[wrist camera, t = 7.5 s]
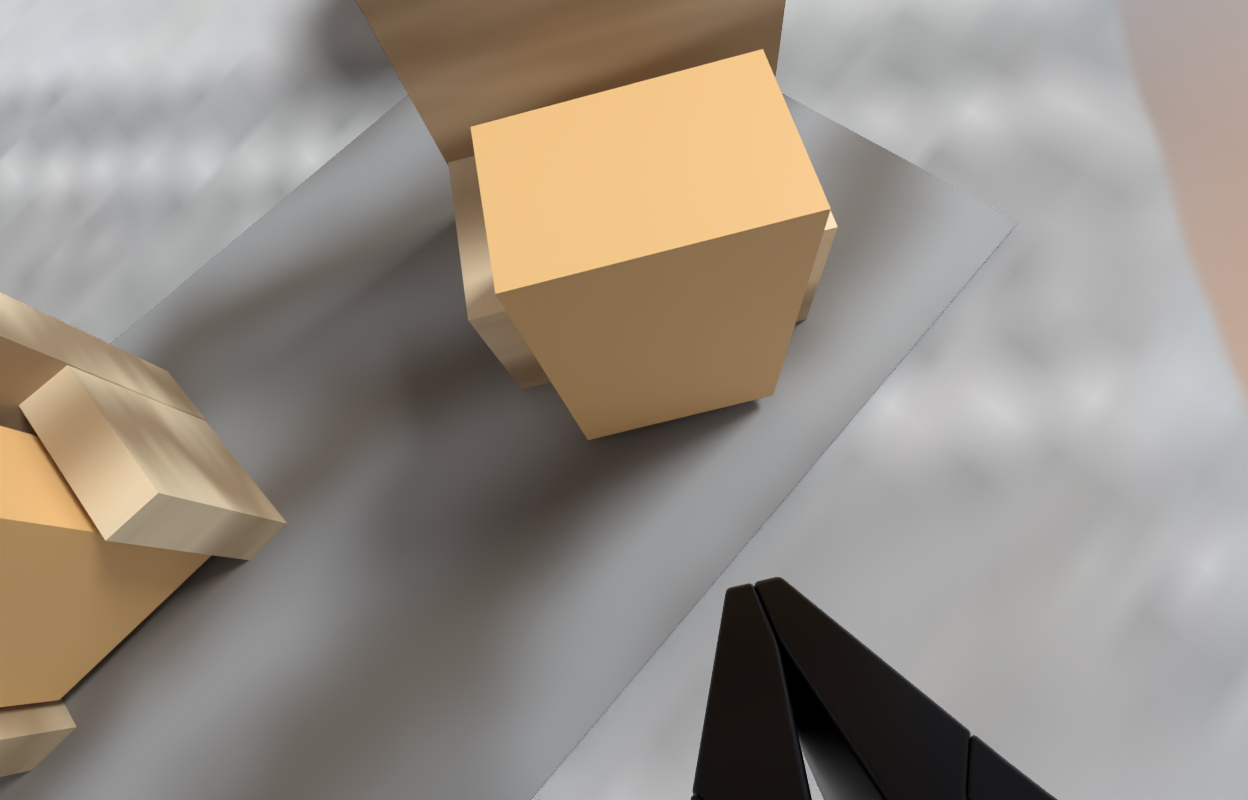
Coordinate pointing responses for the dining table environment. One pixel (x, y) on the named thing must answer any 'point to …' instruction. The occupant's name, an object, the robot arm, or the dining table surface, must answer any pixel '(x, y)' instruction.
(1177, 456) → the dining table surface
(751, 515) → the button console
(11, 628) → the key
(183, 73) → the dining table surface
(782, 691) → the robot arm
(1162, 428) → the dining table surface
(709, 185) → the tan wooden block
